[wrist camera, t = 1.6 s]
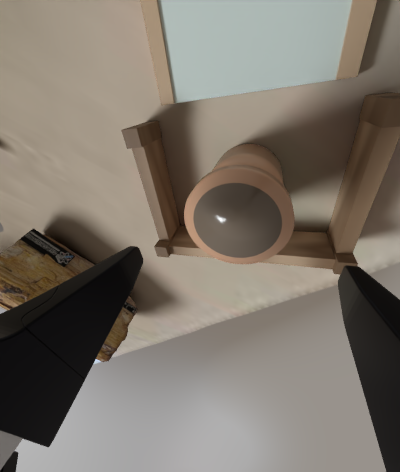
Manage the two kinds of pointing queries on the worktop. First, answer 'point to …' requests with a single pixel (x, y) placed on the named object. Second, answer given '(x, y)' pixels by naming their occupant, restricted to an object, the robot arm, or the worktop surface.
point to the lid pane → (252, 44)
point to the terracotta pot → (241, 207)
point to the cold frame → (301, 243)
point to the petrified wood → (50, 279)
